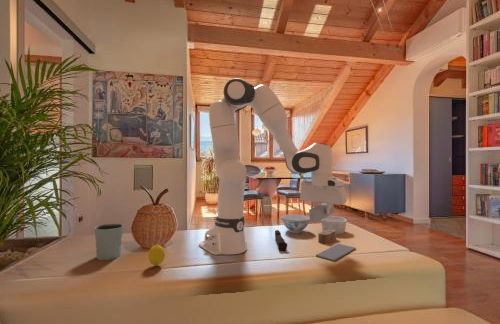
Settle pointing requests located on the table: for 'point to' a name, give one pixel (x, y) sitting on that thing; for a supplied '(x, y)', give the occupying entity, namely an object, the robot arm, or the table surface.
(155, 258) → the lemon
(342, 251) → the tool mat
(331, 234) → the walnut block
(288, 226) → the chinaware
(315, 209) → the bar
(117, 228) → the blue-grey cup
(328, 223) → the ramekin
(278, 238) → the hand tool
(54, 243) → the table surface
